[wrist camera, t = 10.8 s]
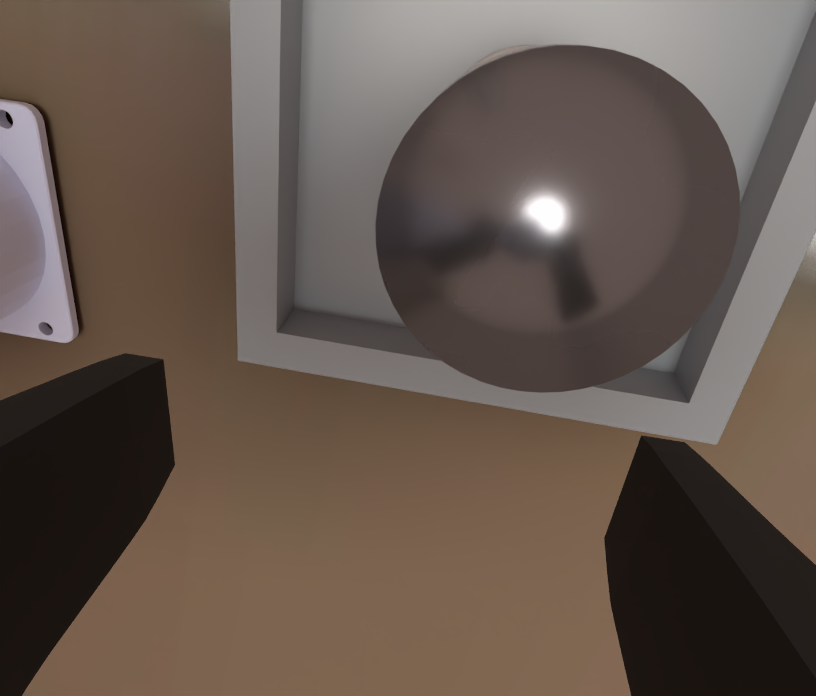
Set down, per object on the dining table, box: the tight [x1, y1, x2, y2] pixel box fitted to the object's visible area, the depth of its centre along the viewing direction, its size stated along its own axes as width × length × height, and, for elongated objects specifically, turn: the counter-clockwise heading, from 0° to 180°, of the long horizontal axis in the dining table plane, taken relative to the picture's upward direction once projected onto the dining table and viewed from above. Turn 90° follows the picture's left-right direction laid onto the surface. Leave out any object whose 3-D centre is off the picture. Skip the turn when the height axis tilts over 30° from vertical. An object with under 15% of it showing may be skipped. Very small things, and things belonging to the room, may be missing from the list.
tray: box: [230, 0, 816, 445], centre depth 15 cm, size 14×14×2 cm
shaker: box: [375, 44, 740, 393], centre depth 12 cm, size 5×5×9 cm
